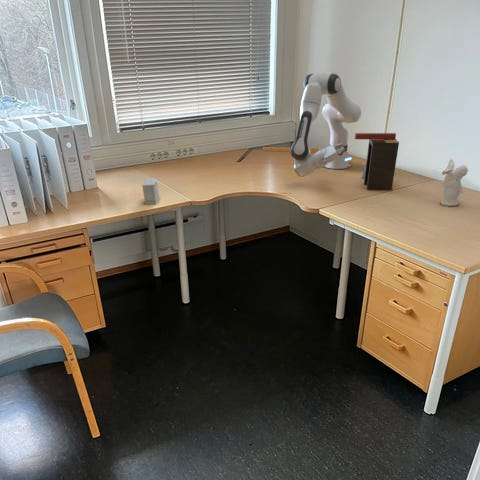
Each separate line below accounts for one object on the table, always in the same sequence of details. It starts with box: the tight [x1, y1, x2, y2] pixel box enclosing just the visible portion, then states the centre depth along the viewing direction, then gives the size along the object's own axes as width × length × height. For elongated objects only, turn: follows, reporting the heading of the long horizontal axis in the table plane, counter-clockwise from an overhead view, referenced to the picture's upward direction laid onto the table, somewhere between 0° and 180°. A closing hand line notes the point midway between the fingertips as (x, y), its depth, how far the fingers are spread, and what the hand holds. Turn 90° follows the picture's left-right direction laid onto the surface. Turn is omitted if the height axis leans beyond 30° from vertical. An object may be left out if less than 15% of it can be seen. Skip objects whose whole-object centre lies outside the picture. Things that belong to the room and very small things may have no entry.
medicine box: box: [361, 163, 366, 180], centre depth 291 cm, size 8×4×9 cm, turn 47°
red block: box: [354, 132, 397, 140], centre depth 267 cm, size 3×22×3 cm, turn 86°
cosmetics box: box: [142, 179, 160, 205], centre depth 260 cm, size 10×6×10 cm, turn 178°
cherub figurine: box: [440, 158, 469, 207], centre depth 246 cm, size 12×12×22 cm
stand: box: [363, 138, 400, 191], centre depth 272 cm, size 12×14×26 cm
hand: (343, 146), depth 271 cm, fingers open, 8 cm apart
